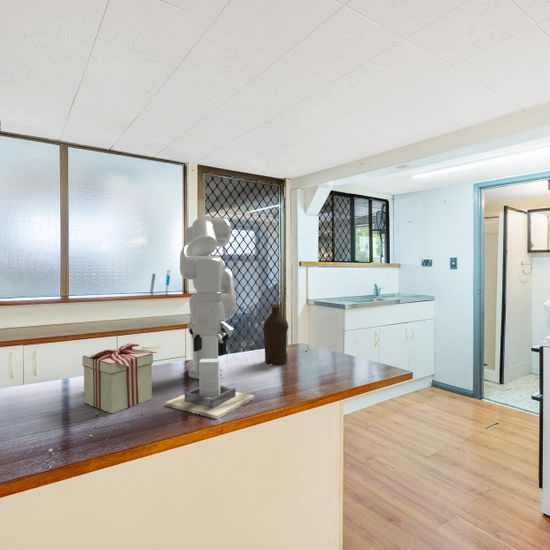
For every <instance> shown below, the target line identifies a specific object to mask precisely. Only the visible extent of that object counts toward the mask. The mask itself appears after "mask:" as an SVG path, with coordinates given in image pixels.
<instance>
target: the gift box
mask: <svg viewBox="0 0 550 550" xmlns="http://www.w3.org/2000/svg"><path fill="white" fill-rule="evenodd" d="M135 347H140V344H137V343H127V344H125V345H121V346H120V347H118V348H114V349H104V350H102V351H99V352H93V353H90V354H86V355H85V354H84V355H82V360H81V361H82V366H83V392H84V393H83V397H84V399H83V401H84V402H85V403H84V404H86V403H87V404H86V405H88V404H90V405H89V406H91V405H92V406H91V407H93V406H94V407H93V408H95V407H96V409H98V408H99V409H98V410H100V409H102V410H101V411H103V410H104V411H103V412H105V411H107V412H106V413H108V412H109V413H108V414H110V413H112V414H115V413H118V412H121V411H124V410H126V409H125V408H127V409H129V408H132V407H134V405H135V406H138V405H140V404H143V403H146V402H148V401H150V400H151V401H152V397H153V395H152V394H153V391H152V389H153V388H152V387H153V385H152V383H153V382H152V379H153V378H152V377H153V374H152V372H153V370H152V369H153V368H152V366H153V365H152V364H154V354H155V353H157V351H151V350H148V349H135ZM145 401H146V402H145ZM142 402H143V403H142ZM139 403H140V404H139ZM137 404H138V405H137ZM131 406H132V407H131ZM123 409H124V410H123ZM120 410H121V411H120ZM117 411H118V412H117ZM114 412H115V413H114Z"/></svg>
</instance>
